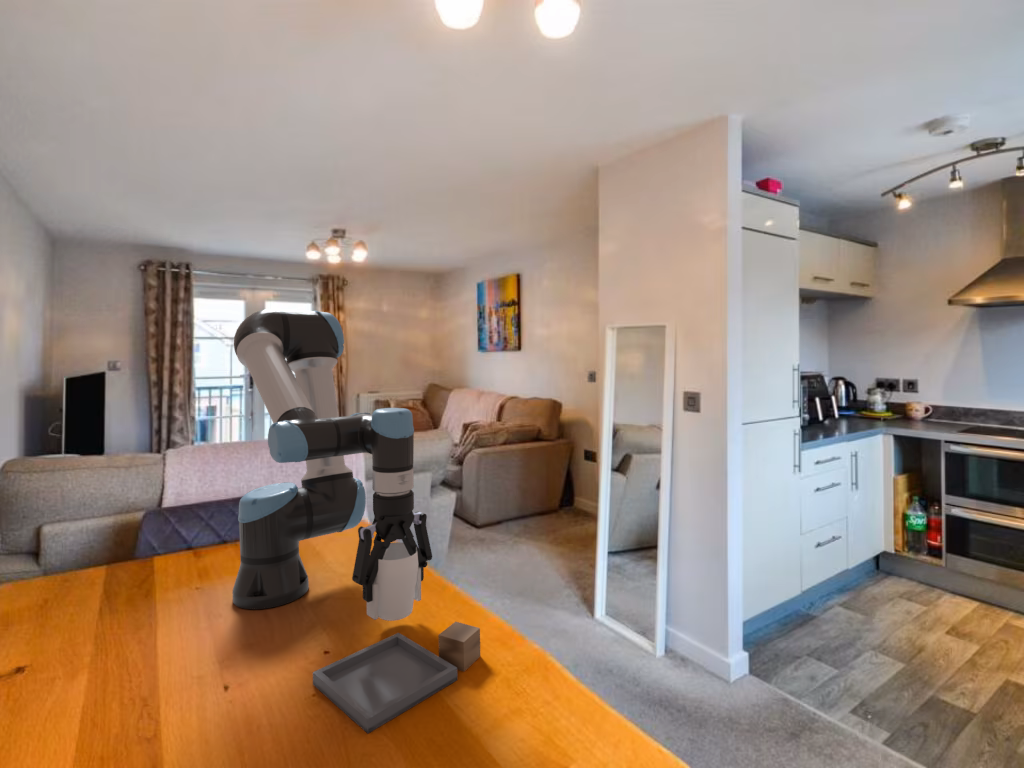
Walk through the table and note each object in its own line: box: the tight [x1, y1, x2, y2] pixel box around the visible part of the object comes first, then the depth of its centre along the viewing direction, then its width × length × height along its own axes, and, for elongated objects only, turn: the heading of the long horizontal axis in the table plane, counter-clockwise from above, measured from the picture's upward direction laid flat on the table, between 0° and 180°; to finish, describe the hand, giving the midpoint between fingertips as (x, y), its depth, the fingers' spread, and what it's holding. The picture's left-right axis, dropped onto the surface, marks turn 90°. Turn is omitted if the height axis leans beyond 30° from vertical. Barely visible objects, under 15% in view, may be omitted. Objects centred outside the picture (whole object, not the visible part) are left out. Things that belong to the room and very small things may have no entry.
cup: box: [370, 542, 418, 622], centre depth 99 cm, size 9×9×12 cm
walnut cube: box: [438, 621, 481, 673], centre depth 88 cm, size 5×5×5 cm
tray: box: [312, 632, 458, 734], centre depth 82 cm, size 16×16×2 cm
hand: (394, 607), depth 99 cm, fingers closed on cup, 9 cm apart
